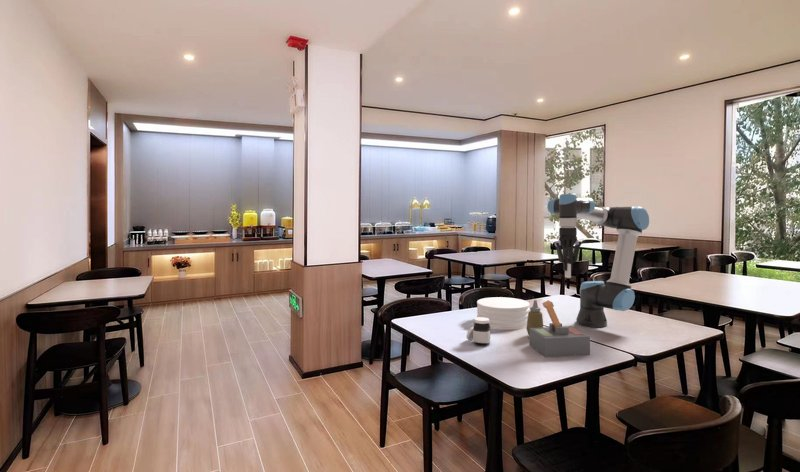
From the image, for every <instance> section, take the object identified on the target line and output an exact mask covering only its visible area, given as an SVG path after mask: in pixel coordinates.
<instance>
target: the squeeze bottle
mask: <svg viewBox="0 0 800 472" xmlns="http://www.w3.org/2000/svg"><path fill="white" fill-rule="evenodd" d="M529 309H530V310H529V312H528V319H527V327H526V328H525V329H526V332H527V335H528V336H529V330H530V328H541V327H544V319H543V317H544V316H543V313H542V312H541V308H540V307H539V305H538V301H537V299H534V300H533V304H532V306H529Z"/></svg>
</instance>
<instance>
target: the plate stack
mask: <svg viewBox="0 0 800 472" xmlns="http://www.w3.org/2000/svg"><path fill="white" fill-rule="evenodd" d="M476 305H477V306H476V314H477V315H476V318H477V317H485V318H488V319H489V324H490V329H494V330H501V331H502V330H503V331H504V330H505V331H510V330H511V331H513V330H516V331H517V330H522V329H526V328H527V319H528V312H530V307H531V305H530V302H529V301H528V300H524V299H521V298H514V297H505V296H504V297H503V296H499V297H498V296H496V297H495V296H494V297H484V298H480V299H477V301H476Z"/></svg>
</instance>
